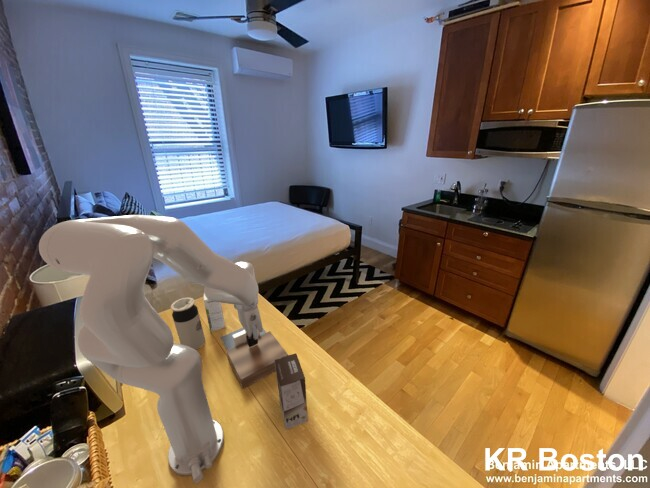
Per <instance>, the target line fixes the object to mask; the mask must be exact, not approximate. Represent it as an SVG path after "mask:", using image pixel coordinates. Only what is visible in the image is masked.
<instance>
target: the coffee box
mask: <svg viewBox="0 0 650 488" xmlns="http://www.w3.org/2000/svg"><path fill="white" fill-rule="evenodd" d="M274 361H275V369H276V371H275V375H276V382H277V389H278V390H277V392H278V400H279V405H280V410H281V415H282V419H283V424H284V427H285V430H289V429H291V428H294V427H297V426H300V425H302V424H304V423H307V422H308V418H309V417H308V404H307V403H308V402H307V391H306V386H307V385H306V376H305V374H304V371H303V369H302V365H301V363H300V360H299V357H298V355H297V353H293V354H292V353H291V354H288V356H284V357H282V358H280V359H276V360H274Z"/></svg>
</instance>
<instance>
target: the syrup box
mask: <svg viewBox="0 0 650 488" xmlns="http://www.w3.org/2000/svg"><path fill="white" fill-rule="evenodd" d="M203 303H204V310H205V314H206V319H207V323H208V328H209V332H215V331H218V330H222V329H224V328H226V323H225V318H224V311H223V306H222V303H220V302H214V301H211V300H209V299H208V298H207V297H206V296H205V293H203Z"/></svg>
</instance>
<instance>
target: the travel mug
mask: <svg viewBox="0 0 650 488" xmlns="http://www.w3.org/2000/svg"><path fill="white" fill-rule="evenodd" d="M195 302H196V301H195V299H194V298H192V297H182V298H179V299H177V300H175V301H173V303H172V304H171V305H170V309H171V310H172V313H171V316H172V320H173V323H174V326H175V330H176V333H177V334H176V335H177V337H178V340H179V344H182V345H186V346H189V347H191V348H193V349H195V350H196V351H197V350H198V349H201V348H202V347H203V345H204V344H206V337H205V333H204V329H203V325H202V321H201V317H200V313H199V309H198V306H197V305H196V303H195Z"/></svg>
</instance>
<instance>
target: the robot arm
mask: <svg viewBox="0 0 650 488" xmlns="http://www.w3.org/2000/svg"><path fill="white" fill-rule="evenodd" d="M38 251H39V255H40V256H41V258H42V260H43V261H44V263H46V264H47V265H48V266H50V267H51V268H53V269H55V270H57V271H60V272H63V273H68V274H69V273H71V274H76V275H84V276H89V279H88V281H87V283H86V286H85V289H84V291H83V295H82V298H81V301H80V305H79V317H80V320H81V321H82V323H83V324H82V326H81V328H80V330H79V333H78V334H77V346H78V349H79V352H80V353H81V355H82V356H83V357H84V358H85V359H86V360H87V361H88V362H90V363H91V364H92V365H94V366H95V367H96V368H98V369H99V370H100V371H101V372H103V373H105V375H107V376H109V377H110V378H112V379H113V380H115V381H116V382H118V383H121V384H124V385H126V386H129V387H130V386H131V387H135V388H139V389H142V390H144V391H147V392H152V393H153V394H157V395H158V397H159V398H158V400H157V402H156V403H157V404H156V410H157V414H158V416H159V419H160V421H161V423H162V426H163V428H164V430H165V433H166V436H167V438H168V441H169V443H170V445H169V450H168V453H167V454H168V455H167V460H168V465H169V467H170V468H171V470H172V471H173V472H174V473H175V474H178V475H180V476H192V480H193V483H195V484H196V483H199V482H200V481H202V479H203V478H204V473H203V470H205V469H206V470H208V469H210V468H211V467H212V466H213V462H214V460H215V459H216V458H217V456H218V455H219V453H220V452H221V450H222V448H223V444H224V436H225V435H224V429H223V427H222V425H221V423H220V422H218V420H215V419H213V416H212V412H211V409H210V405H209V401H208V397H207V394H206V391H205V386H204V381H203V375H202V374H203V372H202V371H203V370H202V369H203V368H202V367H203V366H202V364H203V363H202V356H201V354H200V352H198V351H197V350H195V349H193V348H191V347H189V346H186V345H182V344H180V343H177V342H174V341H175V340H174V336H173V335H174V334H173V332H172V329H171V328H170V326H169V324H167V322H166V321H165V320H164V319H163V318H162V316H161V315H160V314H159V313H158V312H157V311H156V309H155V308H154V306H152V304H151V303H150V302H149V300H148V299H147V297H146V294H145V285H146V280H147V277H148V275H149V272H150V269H151V267H152V264H153V260H155V259H156V260H158V261H160V262H161V263H163V264H164V265H165V266H166V267H168V268H170V269H171V270H173V271H174V272H175V273H176V274H178V275H179V276H180V277H182V278H184V279H185V280H187V282H190V283H193V284H196V285H198V286H202V287H204V289H203V291H204V293H203V294H205V296H206V297H207V298H208V299H209V300H211V301H214V302H220V303H221V304H229V305H233V307H234V310H237V316H238V320H239V323H240V325H241V328H244V330H245V333H246V335H247V336H246V338H247V344H248V345H249V347H252V346H254V345H256V344H258V334H257V329H258V330H259V332H262V331H263V329H264V327H263V324H262V323H263V322H262V317H261V313H260V309H259V307H258V305H259V297H258V296H259V284H258V282H257V280H256V275H255V267H254V266H253V264H252V263H251V262H248V261H237V262H235V261H232V260H230V259H228V258H226V257H224V256H222V255H220V254H218V253H216V252H214V251H213V250H212V249H211V248H210V247H209V246H208V245H207V244H206V243H205V241H203V240H202V239H201V238H200V237H199V236H198V235H197V234H196V233H195V231H193V229H191V227H189V225H188V224H186V223H185V222H184V221H182V220H180V219H178V218H177V217H172V216H163V215H150V214H149V215H147V214H129V215H118V216H117V215H116V216H108V217H107V216H106V217H97V218H96V217H95V218H94V217H93V218H82V219H69V220H66V221H61V222H59V223H56V224H54V225H53V226H51V227H50V228H48V229H47V230H46V231H45V232H44V233H43V234H42V235H41V237H40V239H39V243H38Z"/></svg>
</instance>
